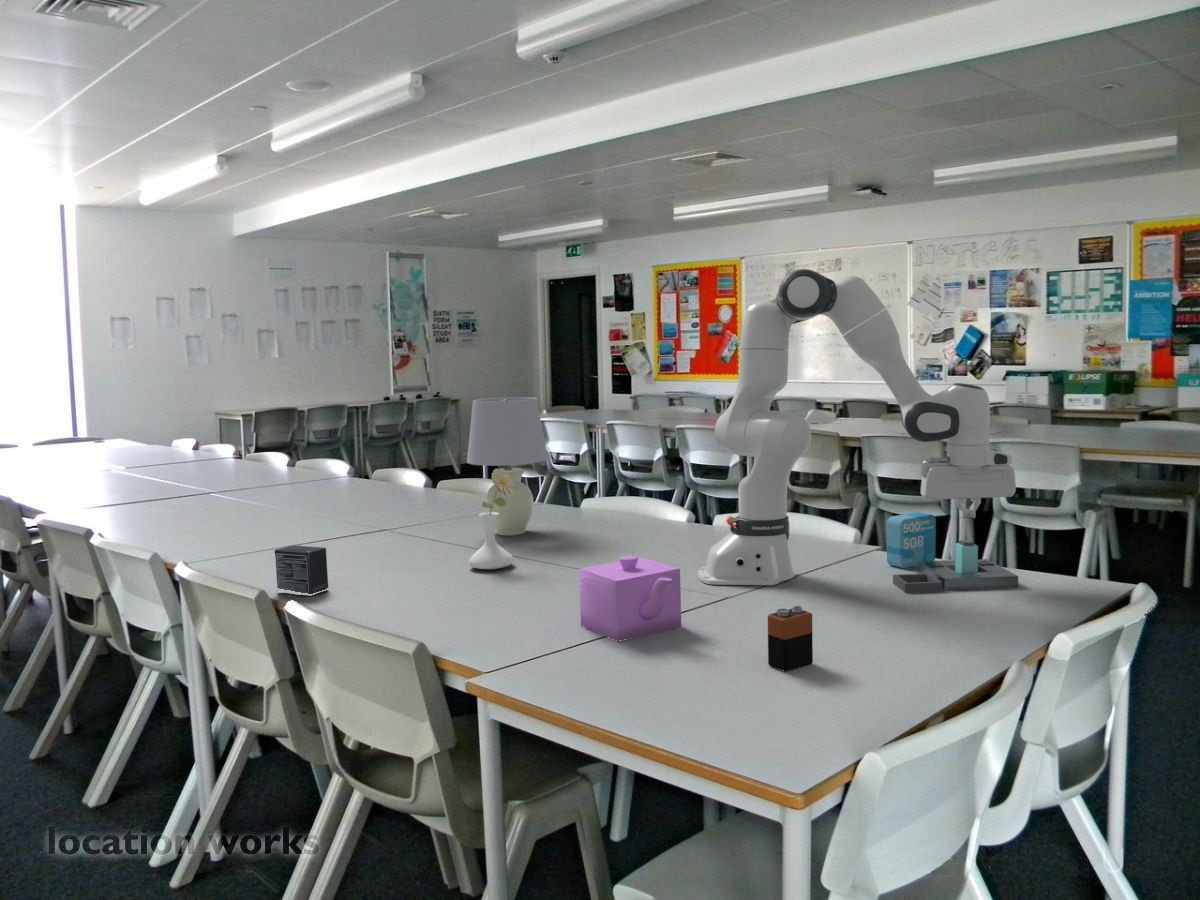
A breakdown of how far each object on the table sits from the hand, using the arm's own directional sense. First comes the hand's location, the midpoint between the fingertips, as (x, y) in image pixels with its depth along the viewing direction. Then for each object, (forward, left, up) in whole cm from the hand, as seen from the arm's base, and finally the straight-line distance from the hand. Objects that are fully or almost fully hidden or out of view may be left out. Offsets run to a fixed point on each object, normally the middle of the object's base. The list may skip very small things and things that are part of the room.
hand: (967, 517), depth 212 cm
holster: (-13, -5, -14) cm, 20 cm away
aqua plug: (0, 0, -14) cm, 14 cm away
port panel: (0, 0, -14) cm, 14 cm away
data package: (-7, +16, -14) cm, 23 cm away
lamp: (-108, +72, -14) cm, 131 cm away
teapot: (-77, -26, -14) cm, 82 cm away
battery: (-51, -51, -14) cm, 74 cm away
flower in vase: (-109, +29, -14) cm, 114 cm away
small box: (-152, +11, -14) cm, 153 cm away
